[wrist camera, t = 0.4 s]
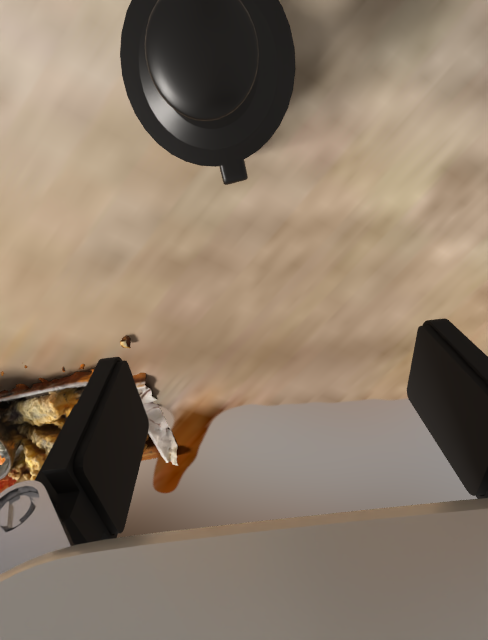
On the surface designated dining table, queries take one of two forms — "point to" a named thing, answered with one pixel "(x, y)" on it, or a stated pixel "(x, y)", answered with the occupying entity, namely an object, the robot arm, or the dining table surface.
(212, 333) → the dining table surface
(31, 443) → the food tray
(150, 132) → the french press
